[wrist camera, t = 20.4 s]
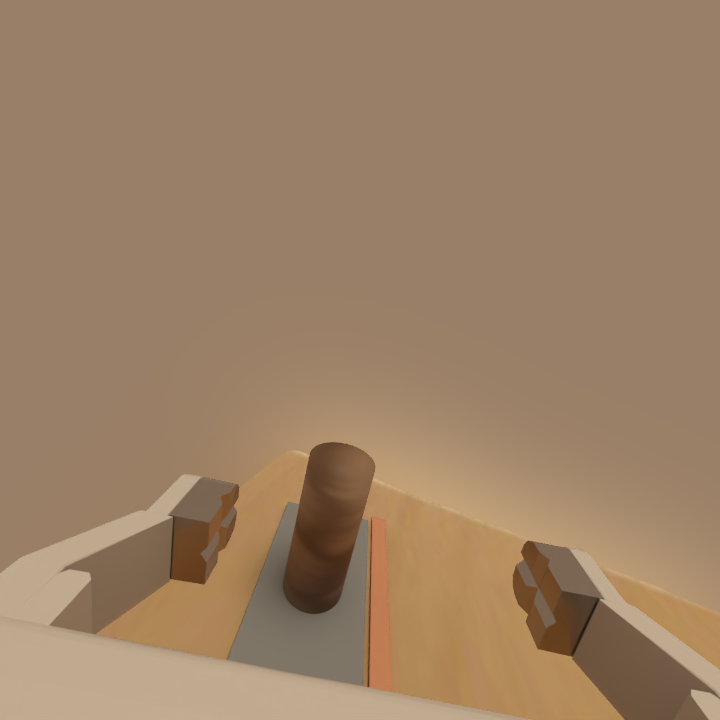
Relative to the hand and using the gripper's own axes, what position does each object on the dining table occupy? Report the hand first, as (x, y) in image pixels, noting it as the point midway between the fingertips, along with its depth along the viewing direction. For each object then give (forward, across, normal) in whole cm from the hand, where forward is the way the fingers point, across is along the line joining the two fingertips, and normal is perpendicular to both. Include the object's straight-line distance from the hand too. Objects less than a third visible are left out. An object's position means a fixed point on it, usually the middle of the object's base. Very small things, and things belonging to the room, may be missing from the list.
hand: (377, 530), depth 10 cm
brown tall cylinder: (+15, +2, +19) cm, 24 cm away
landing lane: (+15, +1, +19) cm, 24 cm away
